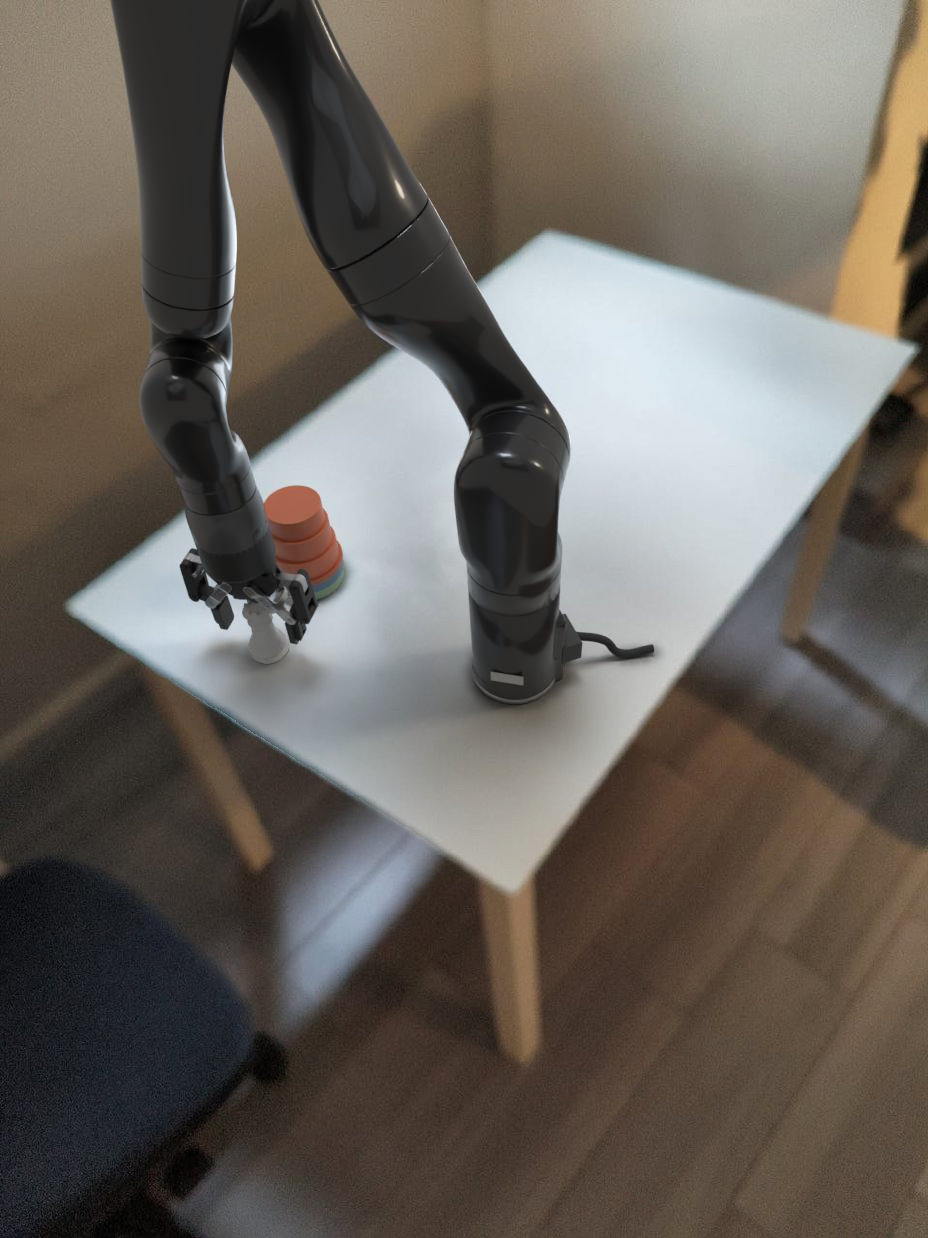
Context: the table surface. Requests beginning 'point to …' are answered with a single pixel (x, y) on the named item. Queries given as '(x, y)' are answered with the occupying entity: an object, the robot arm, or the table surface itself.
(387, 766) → the table surface
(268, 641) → the rook chess piece
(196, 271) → the robot arm
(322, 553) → the cup stack
